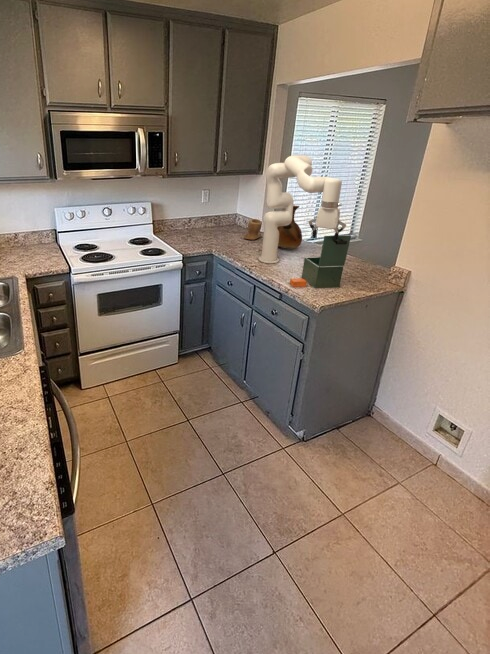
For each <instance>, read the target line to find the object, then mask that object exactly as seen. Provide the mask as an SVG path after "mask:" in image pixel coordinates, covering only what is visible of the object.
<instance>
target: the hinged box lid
mask: <svg viewBox="0 0 490 654" xmlns="http://www.w3.org/2000/svg"><path fill="white" fill-rule="evenodd" d="M351 238H352V235H351V234H343V235H342V234H339V235H338V239H336V241H334V235H324V236H323V241H322V247H321V251H320V256H319V257H320V261H319V267H326V266H344V267H345V266H346V265H345V264H346V260H347V255H348V250H349V246H350V242H351Z"/></svg>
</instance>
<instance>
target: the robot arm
mask: <svg viewBox="0 0 490 654" xmlns="http://www.w3.org/2000/svg"><path fill="white" fill-rule="evenodd" d="M312 165H313V160H312V158H311V156H309V155H307V154H292V155H289V156H287V158H286V159H285V160H284V162H275V163H272V164H270V165H269V166H267V169H266V171H265V179H266V185H267V186H266V187H267V188H266V206H267V208H268V209H271V210H270V211H268V212H265V213H264V215H263V219H262V220H263V222H262V223H263V234H262V245H261V253H260V254H261V256H260V255H259V257H258V261H259V262H261V263H264V264H277V263H279V262H280V259H279V258H278V249H279V246H278V242H279V231H278V229H277V227H279V226H287V225H289V224H290V223H291V222H292V216H293V205H294V198H293V194H291V193H290V192H287V191H285V192H283V183H282V181H281V180H280V179H290V178H292V179H293V178H296V183H297V185H298V187H299V188H301V190H303V191H304V192H306V193H309V194H315V193H317V194H318V193H322V197H321V202H320V203H321V204H320V206H319V208H318V211H317V215H316V218H312V219H310V220H308V225H309V227H310V229H311V231H312V233H311V234H312V235H311V236H312V239H316V238H317V233H318V230H317V229H318V228H319V229H320V228H321V229H328V230H334V234H333V236H334V241H336V239H338V235H340V233H341V232H342V231H343V230H344V229H345V228H346V227H347V224H346V223H345V222H343V221H341V220H340V217H341V210H340V207H342V205H343V203H341V202H340V197H341V190H342V184H343V181H342V179H340V178H337V177H336V178H335V177H334V178H333V177H331V176H311V175H312V173H313V166H312ZM279 209H281V210H279ZM313 223H315V226H314V224H313ZM339 226H341V227H340V228H339Z"/></svg>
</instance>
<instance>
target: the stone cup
mask: <svg viewBox="0 0 490 654" xmlns="http://www.w3.org/2000/svg"><path fill="white" fill-rule="evenodd" d="M262 224H263V222H262V220H260V219H258V218H251V219H250V220H249V221H248V225H247V230H248V233H247V234H245V235H243V238H244V239H246V240H251V241H254V240H255V241H256V240H257V239H259V238H260V237H262V235H261V234H260V233H259V232H260V230H261V228H262Z"/></svg>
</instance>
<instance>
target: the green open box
mask: <svg viewBox="0 0 490 654" xmlns="http://www.w3.org/2000/svg"><path fill="white" fill-rule="evenodd" d="M319 261H320V256H308V257H307V256H305V257H304V258H303V265H302V272H301V278H303V279H304V280H306V281H307V283H308V284H309V285H311V287H313V288H314V289H331V288H340V287H341V282H342V276H343V271H344V267H345V265H344V266H326V267H319Z"/></svg>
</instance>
